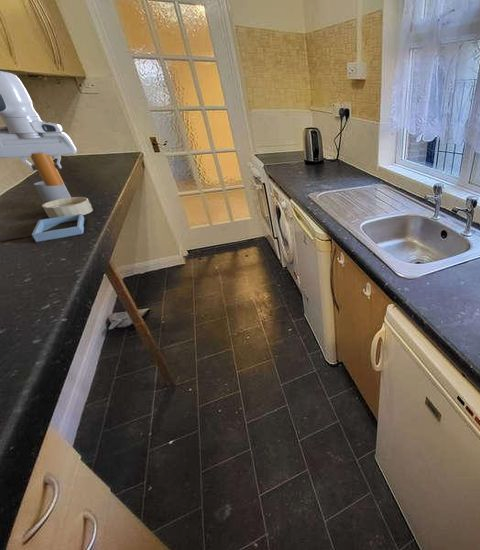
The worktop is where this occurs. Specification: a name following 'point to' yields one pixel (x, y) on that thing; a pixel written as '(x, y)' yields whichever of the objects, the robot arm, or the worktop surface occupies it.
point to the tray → (60, 233)
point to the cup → (51, 191)
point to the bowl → (67, 207)
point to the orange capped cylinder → (47, 169)
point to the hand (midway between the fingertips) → (47, 169)
